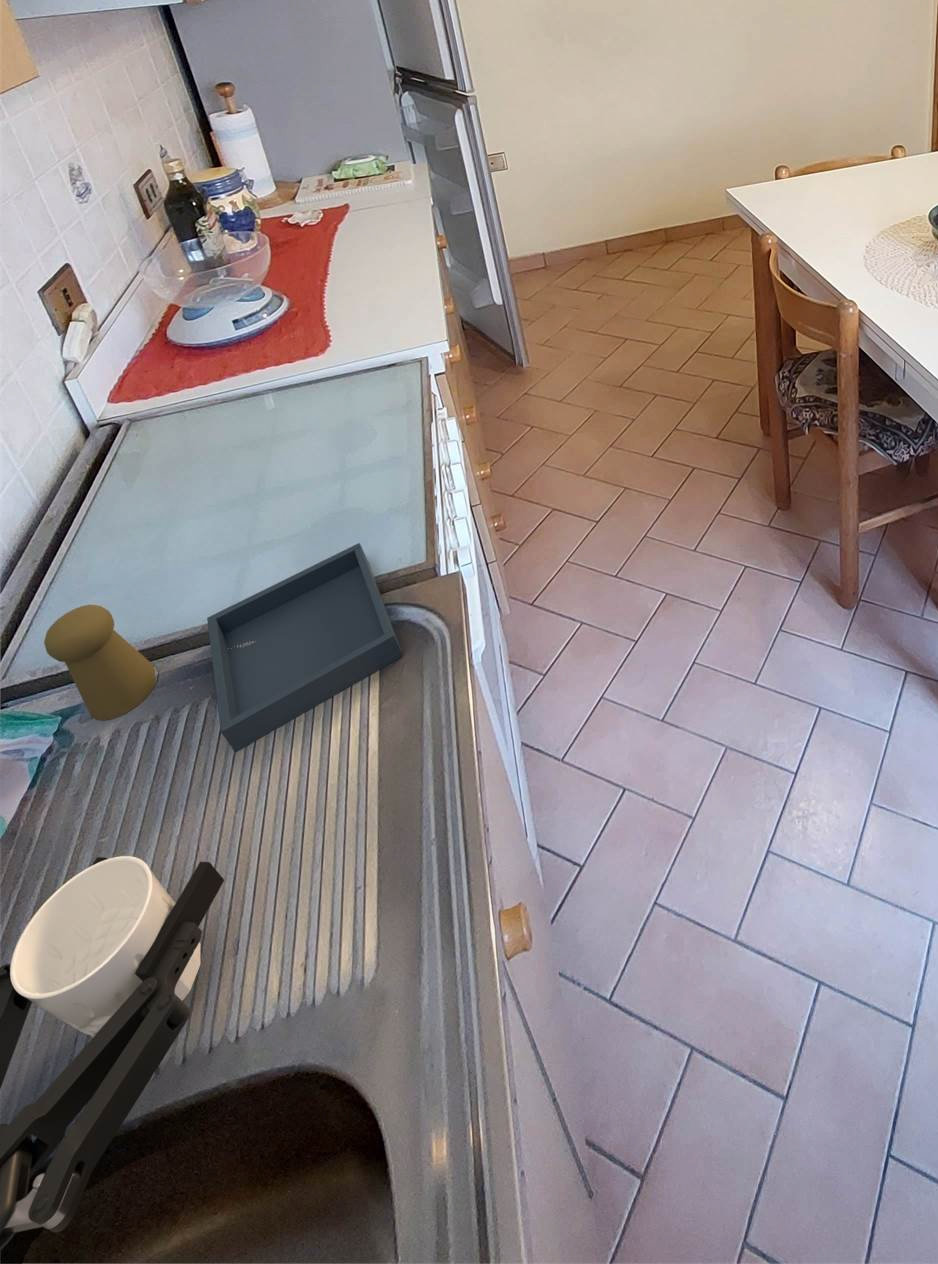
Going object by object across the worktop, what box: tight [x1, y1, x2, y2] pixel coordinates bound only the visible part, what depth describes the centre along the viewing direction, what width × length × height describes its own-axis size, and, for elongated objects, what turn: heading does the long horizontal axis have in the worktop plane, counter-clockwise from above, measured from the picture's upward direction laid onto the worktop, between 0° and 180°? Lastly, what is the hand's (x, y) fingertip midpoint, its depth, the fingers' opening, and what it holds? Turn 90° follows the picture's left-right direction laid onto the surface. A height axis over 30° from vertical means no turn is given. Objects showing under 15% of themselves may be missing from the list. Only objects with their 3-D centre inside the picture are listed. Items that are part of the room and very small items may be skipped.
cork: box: [43, 604, 158, 721], centre depth 79 cm, size 6×6×11 cm
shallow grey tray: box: [206, 542, 404, 753], centre depth 83 cm, size 16×16×3 cm
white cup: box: [10, 855, 202, 1038], centre depth 56 cm, size 8×8×10 cm
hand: (160, 869), depth 60 cm, fingers closed on white cup, 8 cm apart
